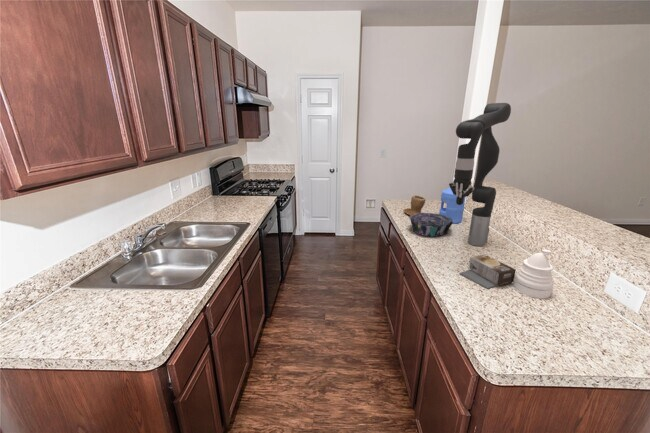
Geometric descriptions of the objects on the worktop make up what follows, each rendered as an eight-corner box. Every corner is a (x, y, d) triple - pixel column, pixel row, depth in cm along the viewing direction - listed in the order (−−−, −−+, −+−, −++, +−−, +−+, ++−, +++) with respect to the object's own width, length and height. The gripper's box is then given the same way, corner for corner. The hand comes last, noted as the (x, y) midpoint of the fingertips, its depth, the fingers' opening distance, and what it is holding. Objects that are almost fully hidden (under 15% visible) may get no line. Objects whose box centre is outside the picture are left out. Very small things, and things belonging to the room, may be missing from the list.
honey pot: (544, 284, 121) (554, 245, 115) (555, 301, 109) (567, 259, 104) (509, 279, 125) (517, 241, 119) (517, 294, 114) (527, 254, 108)
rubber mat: (480, 267, 135) (480, 266, 135) (509, 281, 123) (509, 280, 123) (459, 274, 130) (459, 272, 129) (487, 289, 117) (487, 288, 117)
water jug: (463, 219, 203) (469, 180, 195) (460, 225, 191) (466, 184, 182) (440, 215, 211) (445, 178, 203) (436, 221, 199) (440, 182, 190)
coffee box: (485, 253, 134) (516, 269, 119) (483, 265, 136) (514, 282, 121) (470, 256, 131) (500, 273, 116) (468, 269, 133) (497, 286, 118)
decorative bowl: (458, 234, 181) (461, 219, 178) (435, 242, 164) (438, 226, 161) (423, 224, 200) (425, 210, 197) (399, 230, 183) (401, 215, 180)
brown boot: (426, 217, 207) (428, 197, 203) (411, 218, 205) (413, 198, 201) (416, 211, 222) (418, 193, 217) (402, 212, 220) (404, 194, 215)
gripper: (483, 169, 124) (477, 206, 129) (457, 165, 135) (453, 200, 141) (471, 170, 121) (466, 209, 126) (446, 166, 132) (442, 202, 138)
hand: (459, 204), depth 134 cm, fingers closed
